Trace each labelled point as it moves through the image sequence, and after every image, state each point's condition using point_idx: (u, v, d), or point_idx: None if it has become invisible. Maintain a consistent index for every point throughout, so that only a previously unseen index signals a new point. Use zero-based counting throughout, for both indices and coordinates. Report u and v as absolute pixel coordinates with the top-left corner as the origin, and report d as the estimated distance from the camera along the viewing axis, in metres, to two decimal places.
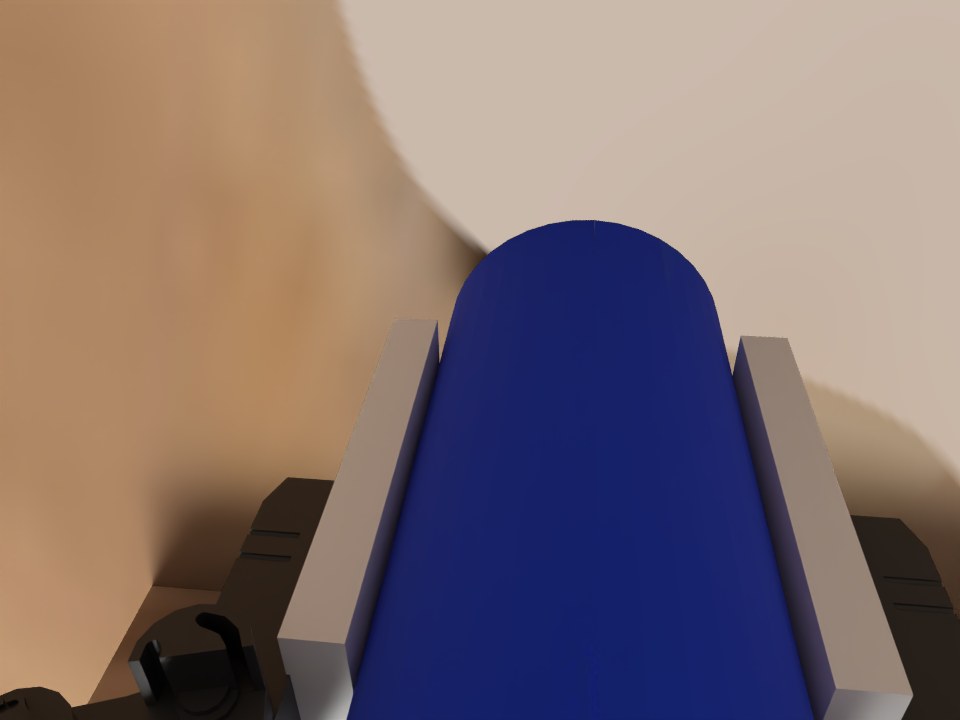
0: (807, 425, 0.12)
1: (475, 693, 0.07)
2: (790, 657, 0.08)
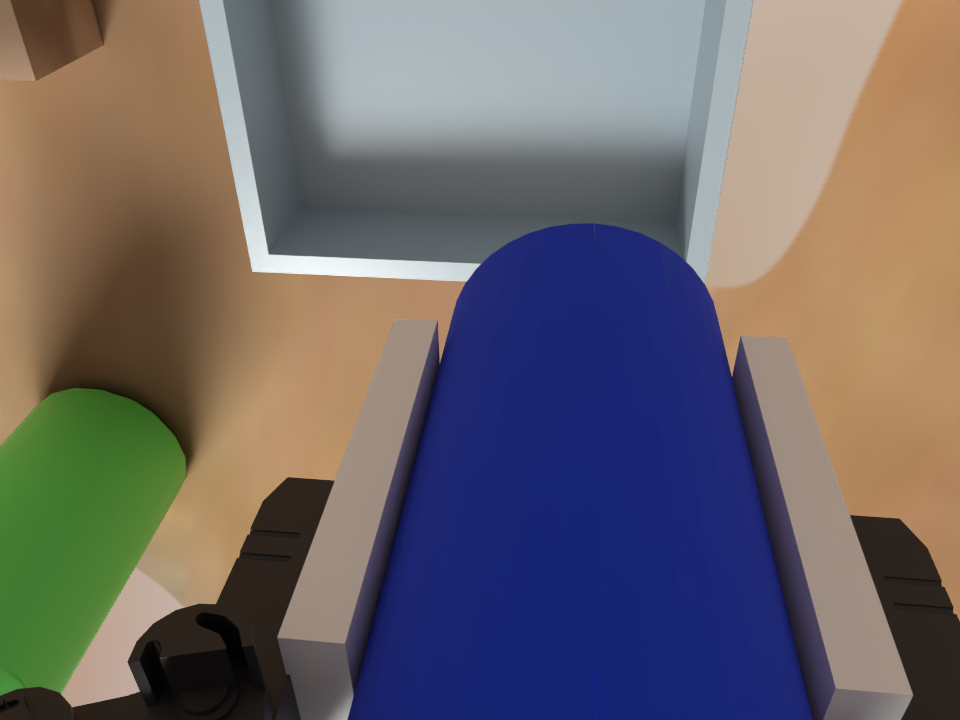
0: (807, 425, 0.12)
1: (474, 699, 0.07)
2: (790, 663, 0.08)
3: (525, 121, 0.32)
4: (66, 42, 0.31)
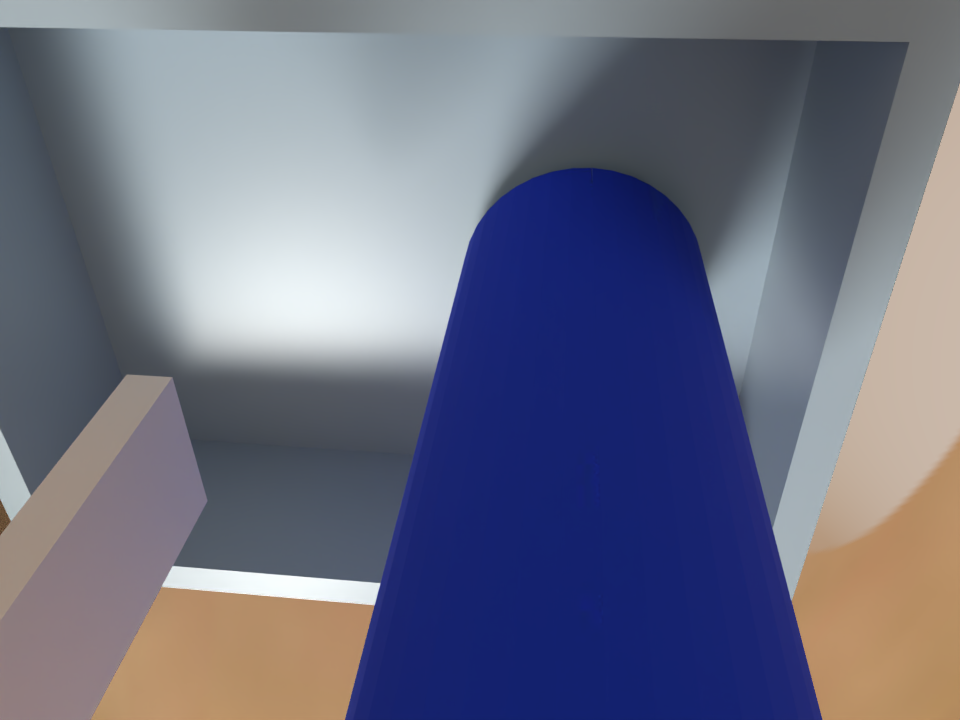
0: None
1: (500, 491, 0.09)
2: (755, 487, 0.10)
3: None
4: None
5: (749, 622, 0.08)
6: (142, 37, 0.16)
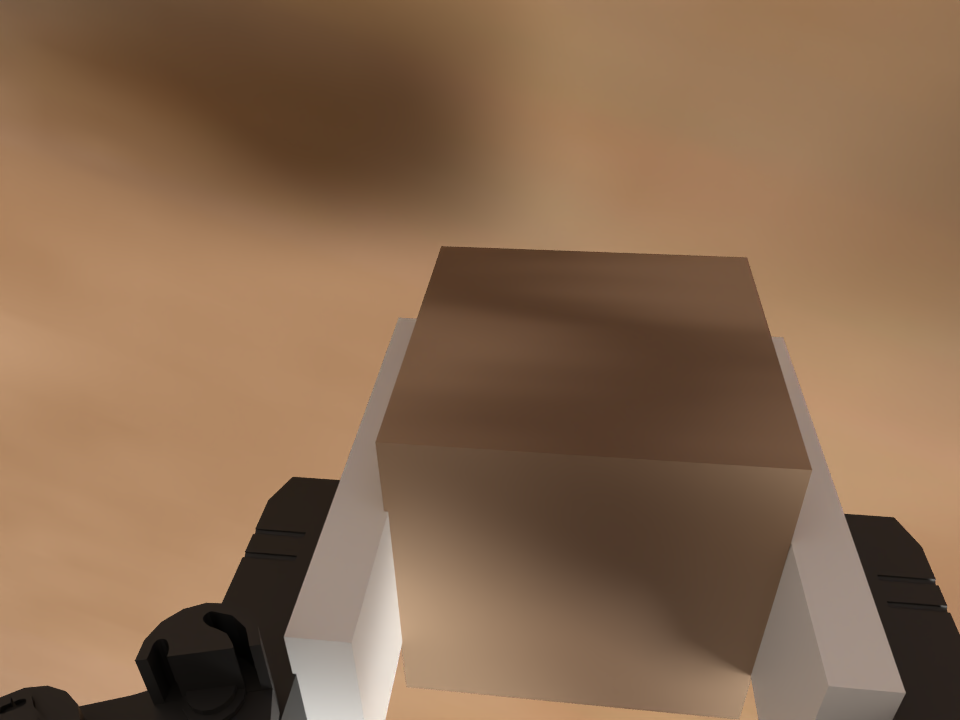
0: (802, 424, 0.12)
1: None
2: None
3: None
4: (720, 343, 0.11)
5: None
6: None
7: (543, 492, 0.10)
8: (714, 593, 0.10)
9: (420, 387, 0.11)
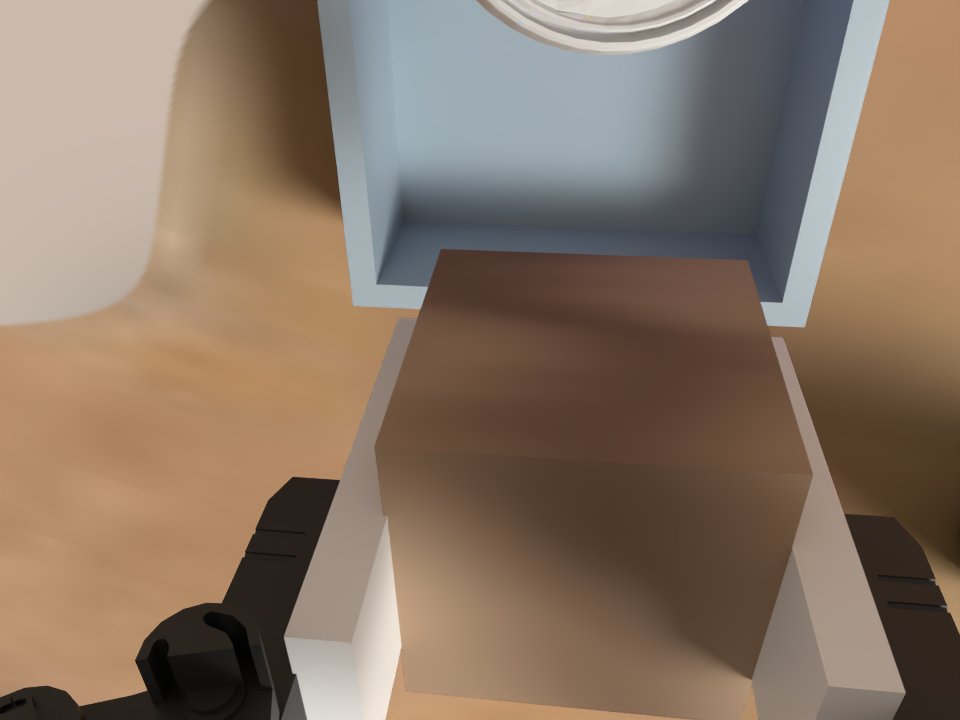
0: (802, 424, 0.12)
1: None
2: None
3: None
4: (721, 347, 0.11)
5: None
6: (434, 142, 0.27)
7: (543, 496, 0.10)
8: (714, 597, 0.10)
9: (419, 391, 0.10)
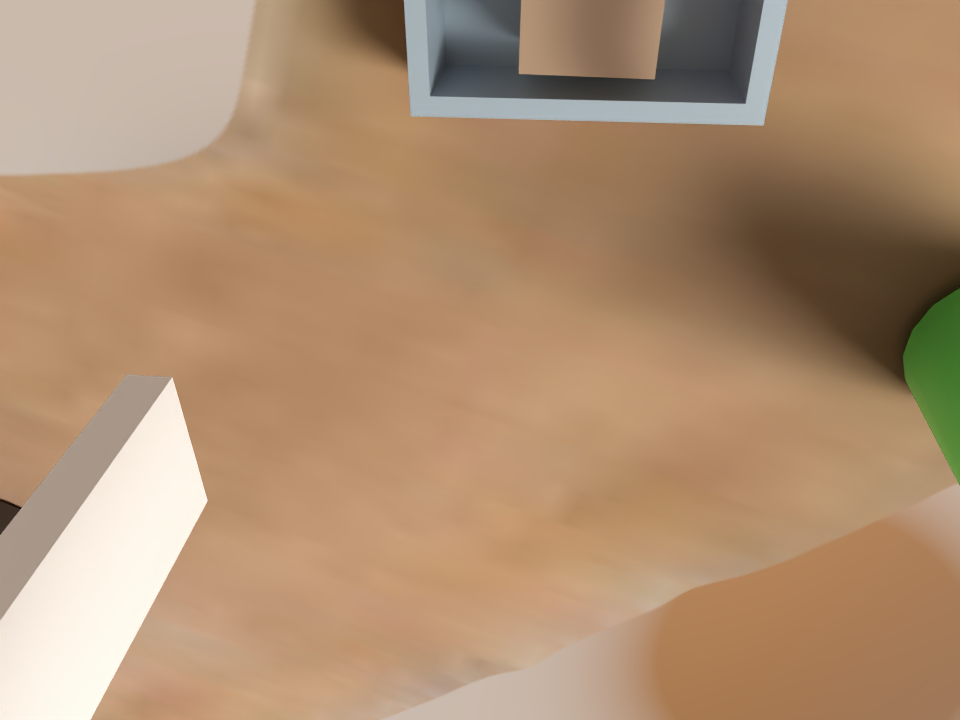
0: None
1: None
2: None
3: None
4: None
5: None
6: None
7: None
8: None
9: None
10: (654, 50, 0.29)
